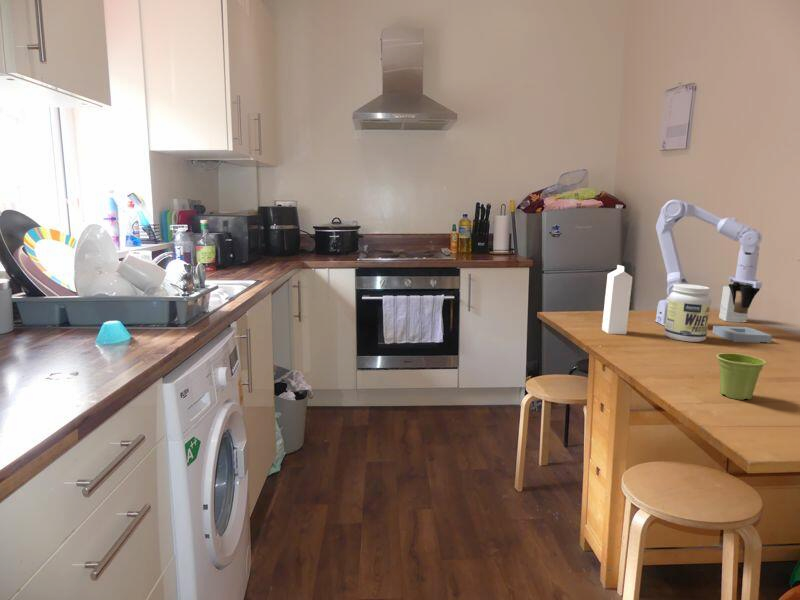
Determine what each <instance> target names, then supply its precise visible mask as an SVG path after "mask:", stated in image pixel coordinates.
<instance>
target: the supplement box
mask: <svg viewBox="0 0 800 600" xmlns="http://www.w3.org/2000/svg"><path fill="white" fill-rule="evenodd" d="M720 300H721V301H720V307H719V315H718V318H719V319H720V320H722V321H724V322H729V323H740V322H746V323H747V319H748V313H749V311H748V312H747V314H743V313H736V312H734V305H733V298H732V293H731V290H730V288H729V285H725V286H722V294H721V299H720Z"/></svg>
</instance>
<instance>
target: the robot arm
mask: <svg viewBox="0 0 800 600" xmlns="http://www.w3.org/2000/svg"><path fill="white" fill-rule="evenodd" d="M684 217H689V218H691V217H692V218H693V217H695V218H697V219H698V220H701V221H703V222H705V223H707V224H709V225H711V226H714V227H716V229H717V233H718V234H721V235H722V236H725V237H727V238H728V239H731V240H733V241H734V242H739V243H740V246H739V247H740V248H739V251H738V257H737V262H736V263H737V264H736V270H735V275H734V276H733V275H732V276H731V275H730V276H729V277H728V280H727V281H728V282H729V284H728V286H729V288H730V290H731V293H732V298H733V305H735V298H736V291H741V295H742V301H741V306H742V308H748V309H749V308H750V307H751V304H752V302H753V299H754V298H755V296H756V295H757V294H758V293H759V291H760V290H761V289H762V286H763V282H761V281H759V280H758V279H756V278H757V277H756V276H757V268H758V263H759V258H760V257H759V256H760V244H761V242H762V240H763V236H762V234H761V232H760V231H758V230H757V229H755V228H751V227H752V226H751V225H749V224H748V225H745V224H743V223H742V222H739V221H737V218H735V217H725V218H721V217H719V216H717V215H716V214H714V213H711V212H710V211H708V210H706V209H704V208H702V207H701V206H699V205H696V204H693V203H690V202H686V201H684V200H681V199H679V200H678V199H671V200H668V201H666V203H665V204H664V205H663V206H662V207H661V208H660V214H659V216H658V219H657V222H656V224H655V231H656V234H657V238H658V242H659V246H660V249H661V255H662V258H663V263H664V266H665V271H666V274H667V277H666V283H667V288H666V295H667V297H666V298H665V299H661V300H659V301H658V304H657V308H656V315H655V320H654V322H655V321H656V323H657V322H658V324H660V325H662V326H664V327H665V324H666V317H667V310H668V301H669V295H670V294H671V293H673V292H674V291H673V290H672V289H673V286H674V284H690V283H689V282H688V280H687V278H686V275H685V274H684V272H683V269H682V265H681V260H680V257H679V253H678V249H677V244H676V241H675V240H676V239H675V236H674V232H673V228H674V227H675V225H676V224H677V222H679V220H681V219H682V218H684Z"/></svg>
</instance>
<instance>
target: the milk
mask: <svg viewBox="0 0 800 600" xmlns="http://www.w3.org/2000/svg"><path fill="white" fill-rule="evenodd" d="M606 277H607V278H606V286H605V295H604V306H603V307H604V308H603V316H602V323H601V330H602V331H603V332H605V333H607V334H608V335H609V334H611V335H627V331H628V329H627V328H628V322H629V321H628V320H629V313H630V304H631V294H632V293H631V292H632V287H633V286H632V285H633V276H632V275H630V274H629V273H627V272H626V271H625V266H623V265H620V264H617V265H616V269H615V270H613V271H610V272H609V273H607V276H606Z"/></svg>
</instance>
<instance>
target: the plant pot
mask: <svg viewBox="0 0 800 600" xmlns="http://www.w3.org/2000/svg"><path fill="white" fill-rule="evenodd" d="M716 358H717V359H718V360H717V361H718V365H719V390H720V394H721V395H724V396H726V397H727V398H730V399H734V400H740V401H743V400H745V399H746V400H752V398H753V395H754V391H755V388H756V385H757V383H758V380H759V375H760V373H761V371H762V370H763V367H764V366H765V365H766V364H767V362H766V361H765V359H762V358H759V357H756V356H752V355H748V354H741V353H734V352H732V353H731V352H728V353H727V352H722V353H718V354H716Z"/></svg>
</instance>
